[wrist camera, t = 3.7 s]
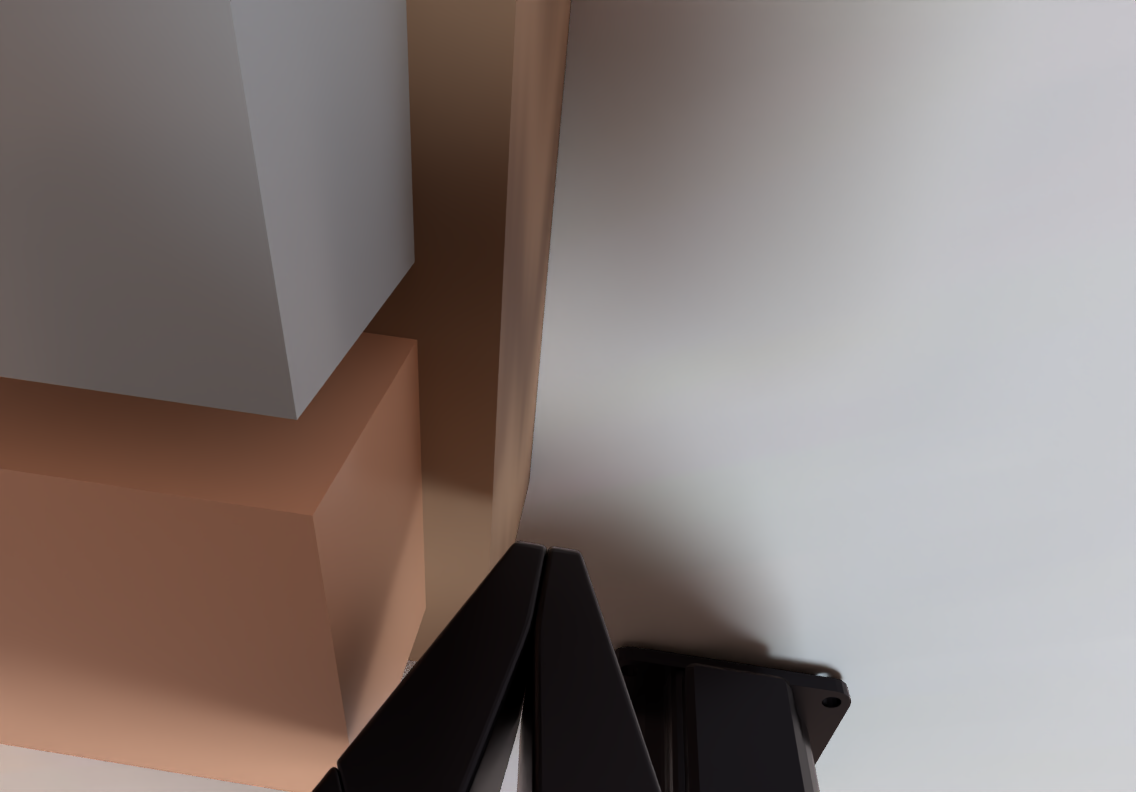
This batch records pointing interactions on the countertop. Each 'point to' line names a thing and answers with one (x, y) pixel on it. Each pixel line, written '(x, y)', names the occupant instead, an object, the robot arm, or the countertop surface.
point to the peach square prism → (210, 572)
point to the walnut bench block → (477, 272)
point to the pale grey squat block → (200, 193)
